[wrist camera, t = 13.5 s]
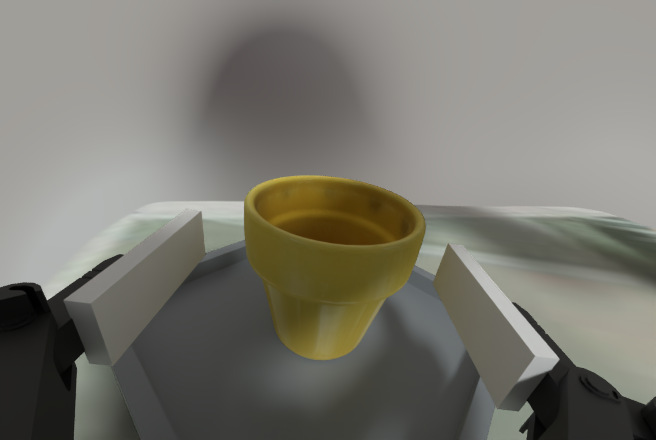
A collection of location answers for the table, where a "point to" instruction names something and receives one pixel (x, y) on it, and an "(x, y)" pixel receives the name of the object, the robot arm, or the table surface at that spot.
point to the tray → (297, 368)
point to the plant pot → (329, 257)
